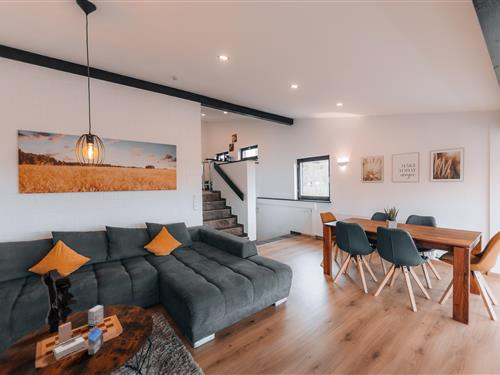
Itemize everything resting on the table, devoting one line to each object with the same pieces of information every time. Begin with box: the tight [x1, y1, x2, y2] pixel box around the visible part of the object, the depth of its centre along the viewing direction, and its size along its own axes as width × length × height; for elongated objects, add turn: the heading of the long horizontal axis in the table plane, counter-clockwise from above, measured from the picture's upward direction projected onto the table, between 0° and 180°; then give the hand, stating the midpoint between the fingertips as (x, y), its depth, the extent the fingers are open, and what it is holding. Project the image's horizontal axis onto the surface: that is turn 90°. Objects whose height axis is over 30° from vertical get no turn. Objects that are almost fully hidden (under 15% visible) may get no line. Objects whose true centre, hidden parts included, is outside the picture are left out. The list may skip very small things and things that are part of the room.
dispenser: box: [52, 334, 86, 361], centre depth 144 cm, size 8×14×5 cm, turn 143°
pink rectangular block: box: [58, 321, 73, 345], centre depth 148 cm, size 2×6×13 cm, turn 143°
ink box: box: [87, 304, 104, 326], centre depth 170 cm, size 9×5×12 cm, turn 168°
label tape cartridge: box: [87, 325, 104, 355], centre depth 144 cm, size 9×4×12 cm, turn 1°
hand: (62, 320), depth 153 cm, fingers open, 9 cm apart
